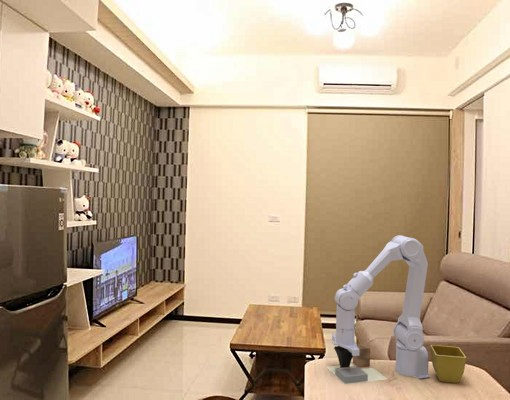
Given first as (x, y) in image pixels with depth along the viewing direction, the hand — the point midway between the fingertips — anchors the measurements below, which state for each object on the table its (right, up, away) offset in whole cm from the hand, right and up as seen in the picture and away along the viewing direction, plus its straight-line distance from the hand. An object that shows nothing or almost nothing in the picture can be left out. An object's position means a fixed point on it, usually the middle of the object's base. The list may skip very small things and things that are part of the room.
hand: (344, 370), depth 134 cm
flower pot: (+32, -2, -2) cm, 32 cm away
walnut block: (+7, 0, +6) cm, 9 cm away
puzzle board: (+3, -2, 0) cm, 4 cm away
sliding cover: (+1, -1, -4) cm, 4 cm away
